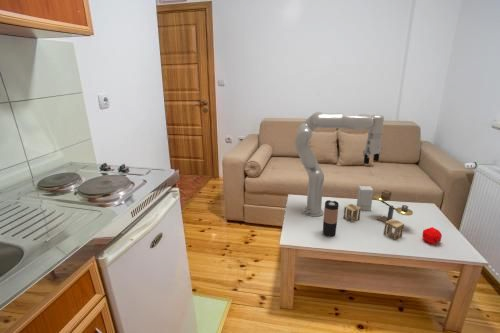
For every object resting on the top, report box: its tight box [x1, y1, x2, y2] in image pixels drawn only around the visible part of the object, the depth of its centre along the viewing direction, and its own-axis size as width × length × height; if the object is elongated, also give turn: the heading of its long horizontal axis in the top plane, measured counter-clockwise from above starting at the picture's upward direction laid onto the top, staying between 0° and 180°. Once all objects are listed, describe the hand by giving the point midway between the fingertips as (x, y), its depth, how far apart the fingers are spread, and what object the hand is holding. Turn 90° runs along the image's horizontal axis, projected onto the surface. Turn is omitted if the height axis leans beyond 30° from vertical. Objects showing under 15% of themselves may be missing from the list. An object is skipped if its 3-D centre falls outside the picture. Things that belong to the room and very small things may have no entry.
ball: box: [421, 226, 443, 245], centre depth 158 cm, size 8×8×8 cm
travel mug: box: [322, 200, 340, 238], centre depth 164 cm, size 8×8×20 cm
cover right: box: [383, 218, 405, 241], centre depth 164 cm, size 7×7×8 cm
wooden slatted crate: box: [343, 203, 362, 223], centre depth 182 cm, size 7×7×8 cm
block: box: [380, 189, 392, 202], centre depth 177 cm, size 4×4×5 cm
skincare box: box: [356, 185, 374, 211], centre depth 195 cm, size 8×7×16 cm
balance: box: [372, 193, 414, 229], centre depth 177 cm, size 9×25×15 cm, turn 33°
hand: (371, 162), depth 178 cm, fingers open, 9 cm apart
